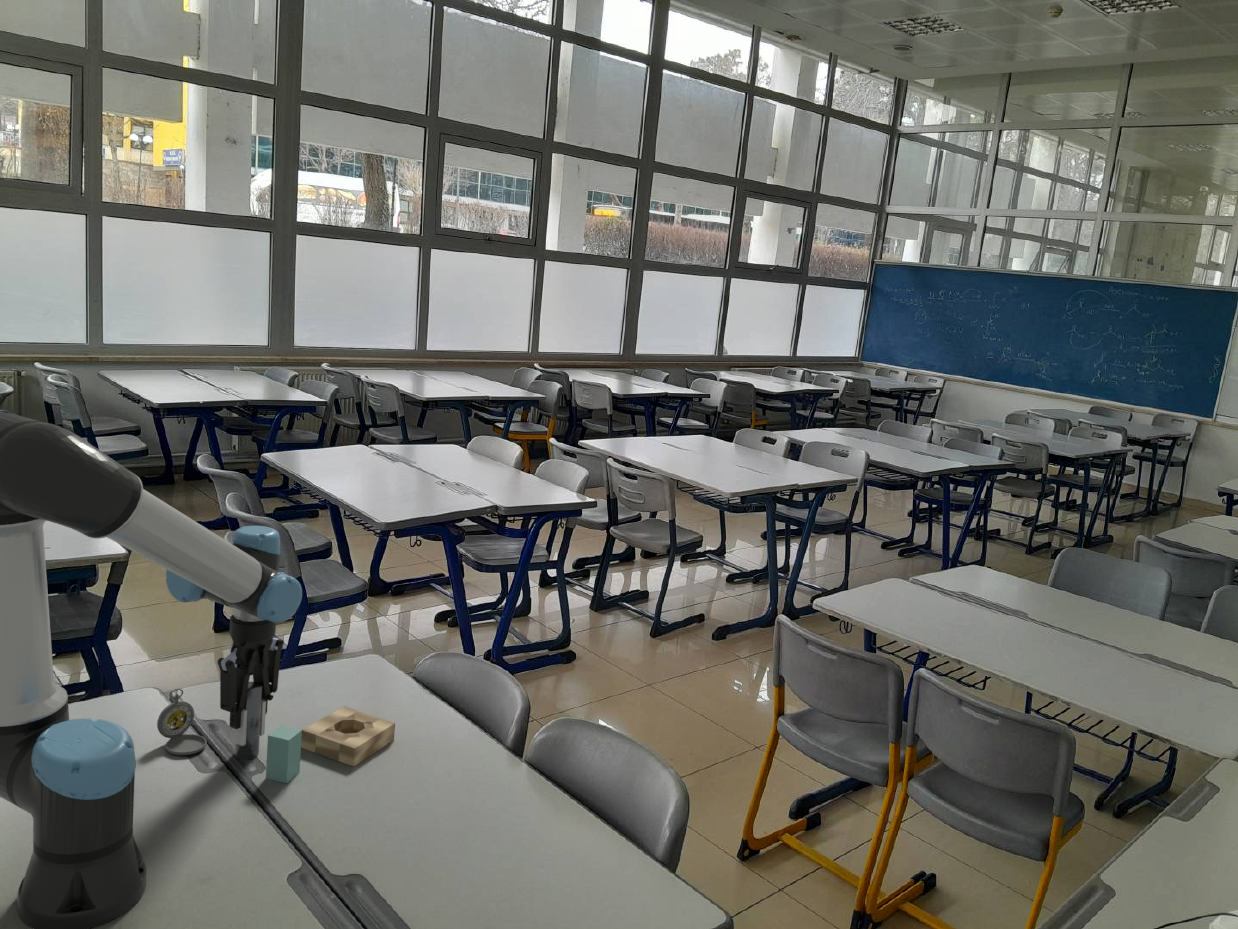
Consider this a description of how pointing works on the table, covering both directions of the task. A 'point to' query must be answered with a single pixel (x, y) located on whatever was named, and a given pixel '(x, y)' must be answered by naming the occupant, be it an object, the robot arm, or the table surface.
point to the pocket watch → (179, 728)
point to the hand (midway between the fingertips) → (247, 737)
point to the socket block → (348, 735)
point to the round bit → (251, 722)
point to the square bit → (283, 754)
